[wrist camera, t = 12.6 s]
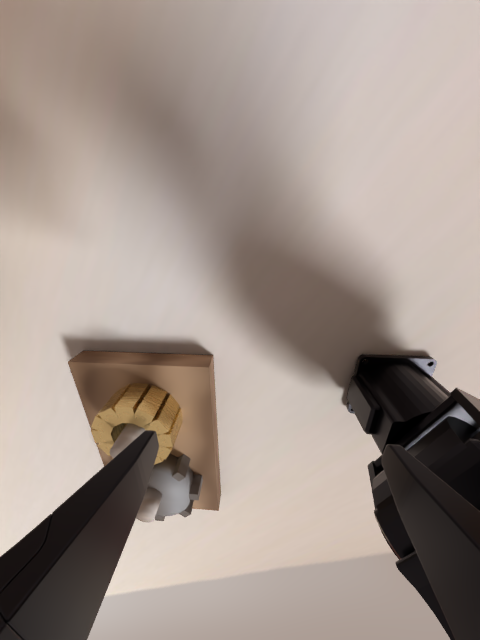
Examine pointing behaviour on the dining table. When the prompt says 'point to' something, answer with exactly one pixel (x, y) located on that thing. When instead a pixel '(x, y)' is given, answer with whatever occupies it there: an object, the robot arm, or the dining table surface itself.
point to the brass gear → (139, 417)
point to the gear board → (175, 383)
